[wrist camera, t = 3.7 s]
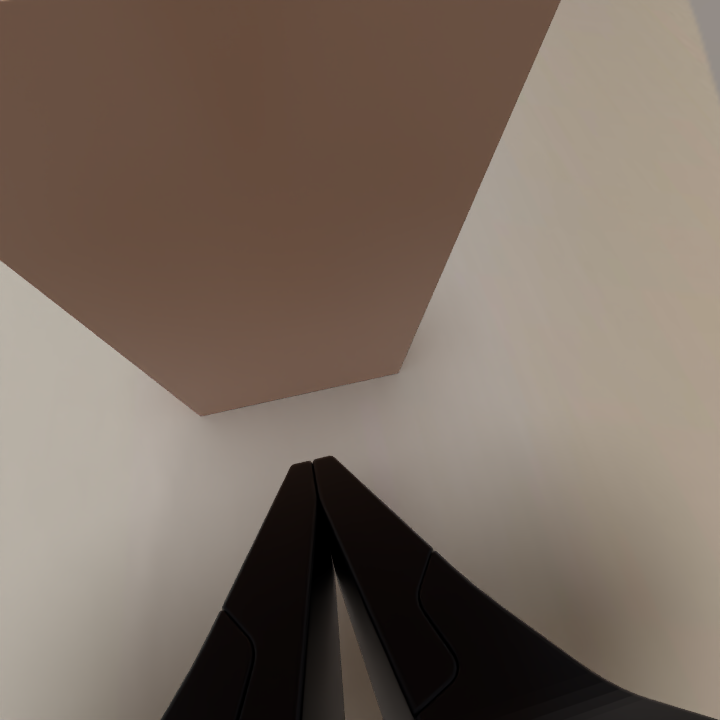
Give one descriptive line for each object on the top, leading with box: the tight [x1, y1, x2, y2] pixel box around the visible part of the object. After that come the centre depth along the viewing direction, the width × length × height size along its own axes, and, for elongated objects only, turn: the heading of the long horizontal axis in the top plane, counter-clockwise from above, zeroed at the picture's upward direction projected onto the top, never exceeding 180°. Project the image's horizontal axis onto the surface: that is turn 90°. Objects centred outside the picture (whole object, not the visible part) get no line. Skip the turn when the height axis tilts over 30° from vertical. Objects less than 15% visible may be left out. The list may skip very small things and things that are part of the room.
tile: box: [0, 0, 561, 416], centre depth 11 cm, size 2×8×14 cm, turn 104°
